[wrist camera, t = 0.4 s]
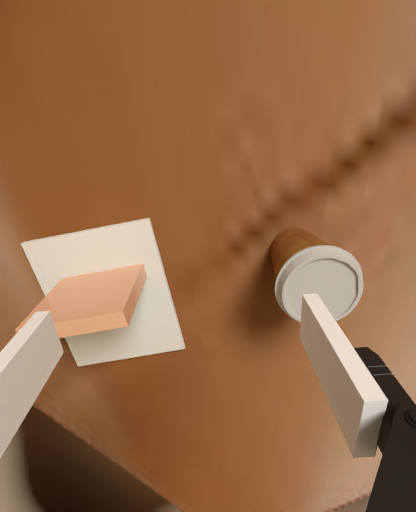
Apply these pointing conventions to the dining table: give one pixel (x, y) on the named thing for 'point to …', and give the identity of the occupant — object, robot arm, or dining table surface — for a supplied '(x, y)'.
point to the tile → (93, 301)
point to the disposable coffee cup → (314, 274)
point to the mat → (105, 258)
